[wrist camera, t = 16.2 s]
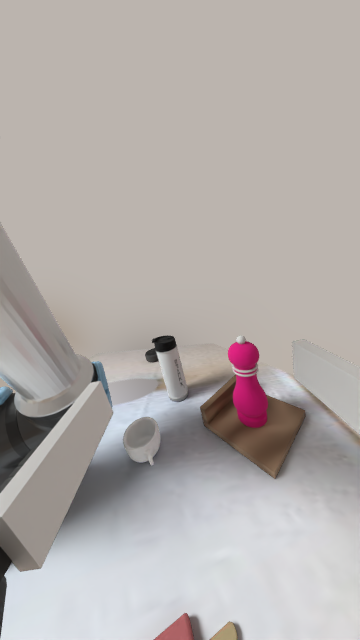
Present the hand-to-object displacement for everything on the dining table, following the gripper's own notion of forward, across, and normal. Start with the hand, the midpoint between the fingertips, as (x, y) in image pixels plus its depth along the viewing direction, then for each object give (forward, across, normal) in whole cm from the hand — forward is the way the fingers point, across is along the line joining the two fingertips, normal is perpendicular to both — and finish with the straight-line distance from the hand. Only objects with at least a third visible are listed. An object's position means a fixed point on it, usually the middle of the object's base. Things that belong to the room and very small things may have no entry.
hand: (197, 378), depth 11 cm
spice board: (+21, +10, -29) cm, 37 cm away
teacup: (+18, -14, -29) cm, 37 cm away
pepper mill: (+21, +10, -27) cm, 36 cm away
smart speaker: (+65, -19, -30) cm, 74 cm away
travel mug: (+35, -8, -29) cm, 46 cm away
